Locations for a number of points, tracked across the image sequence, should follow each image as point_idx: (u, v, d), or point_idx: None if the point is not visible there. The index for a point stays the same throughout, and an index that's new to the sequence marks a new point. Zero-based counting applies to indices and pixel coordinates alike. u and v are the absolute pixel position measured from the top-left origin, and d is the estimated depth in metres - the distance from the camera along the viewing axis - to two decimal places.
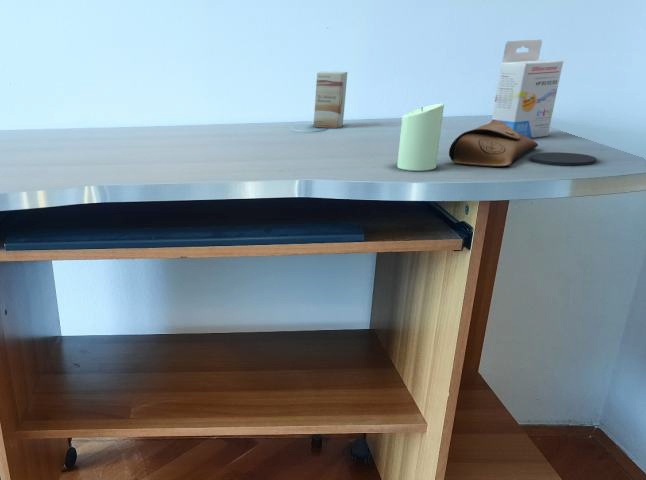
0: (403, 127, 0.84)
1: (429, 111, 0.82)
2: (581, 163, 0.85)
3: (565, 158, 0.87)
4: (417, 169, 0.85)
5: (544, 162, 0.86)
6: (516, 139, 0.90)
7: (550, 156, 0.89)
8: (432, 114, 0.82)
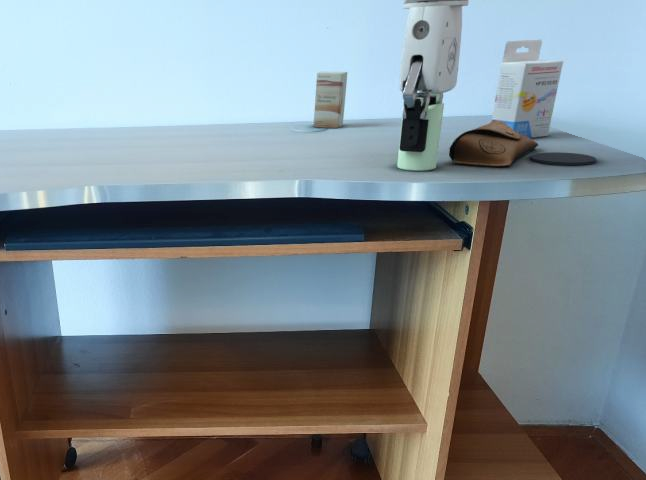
0: None
1: (429, 111, 0.82)
2: (581, 163, 0.85)
3: (565, 158, 0.87)
4: (417, 169, 0.85)
5: (544, 162, 0.86)
6: (516, 139, 0.90)
7: (550, 156, 0.89)
8: (432, 114, 0.82)
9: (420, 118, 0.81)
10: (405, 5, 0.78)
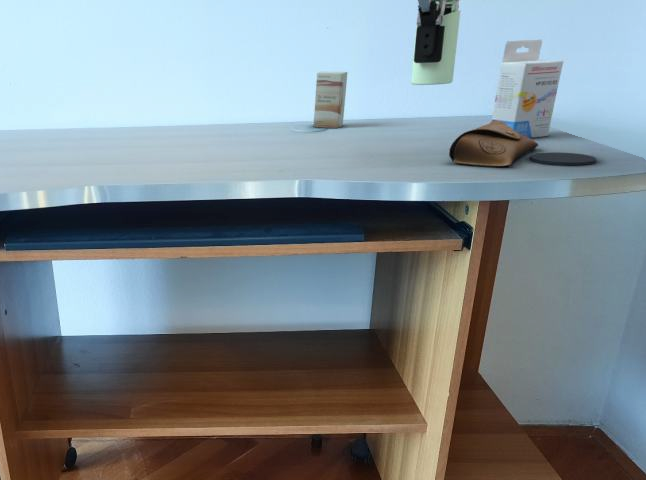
0: None
1: (445, 17, 0.77)
2: (581, 163, 0.85)
3: (565, 158, 0.87)
4: (433, 82, 0.80)
5: (544, 162, 0.86)
6: (516, 139, 0.90)
7: (550, 156, 0.89)
8: (448, 20, 0.77)
9: (436, 23, 0.76)
10: None
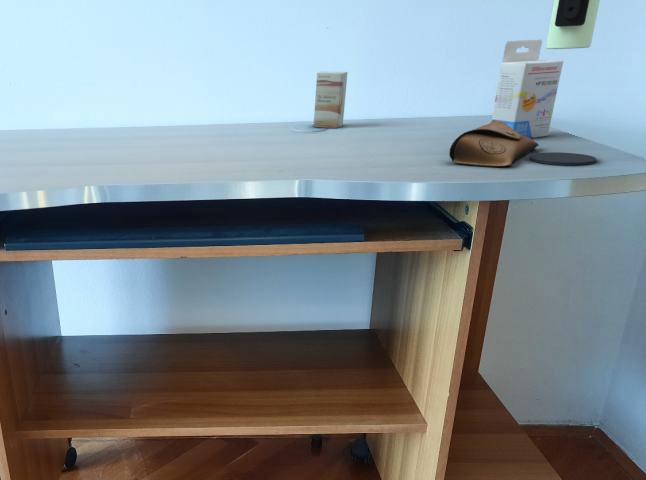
0: (558, 0, 0.79)
1: None
2: (581, 163, 0.85)
3: (565, 158, 0.87)
4: (573, 46, 0.80)
5: (544, 162, 0.86)
6: (516, 139, 0.90)
7: (550, 156, 0.89)
8: None
9: None
10: None
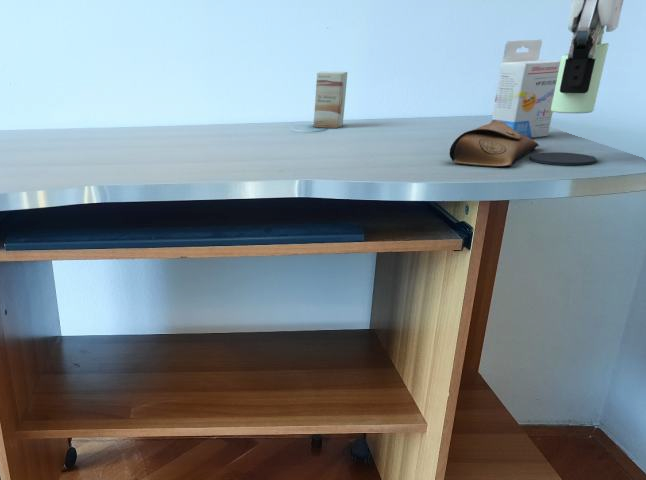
0: None
1: (595, 50, 0.80)
2: (581, 163, 0.85)
3: (565, 158, 0.87)
4: (576, 111, 0.83)
5: (544, 162, 0.86)
6: (516, 139, 0.90)
7: (550, 156, 0.89)
8: (598, 53, 0.80)
9: (588, 57, 0.79)
10: None
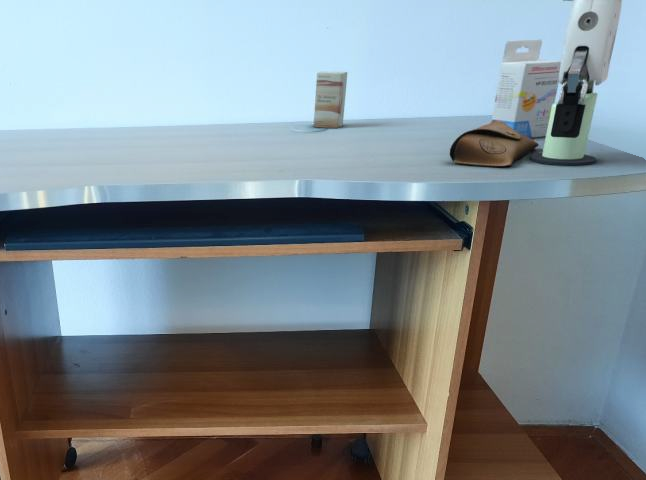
0: None
1: (585, 100, 0.83)
2: (581, 163, 0.85)
3: None
4: (567, 158, 0.86)
5: (544, 162, 0.86)
6: (517, 139, 0.90)
7: None
8: (587, 103, 0.83)
9: (578, 101, 0.80)
10: None
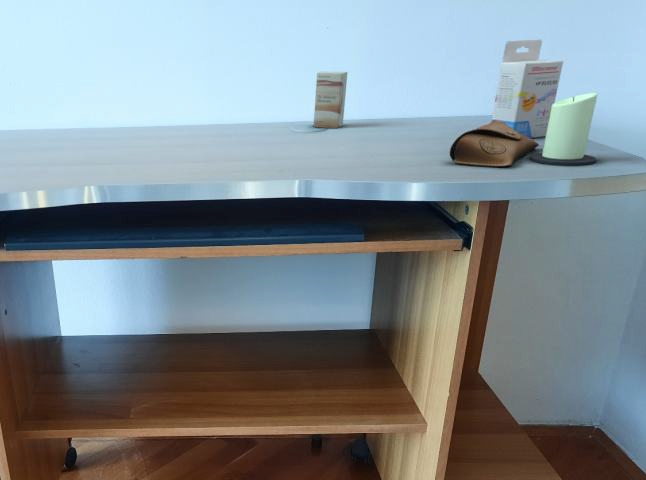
0: (554, 116, 0.85)
1: (585, 100, 0.83)
2: (581, 163, 0.85)
3: None
4: (567, 158, 0.86)
5: (544, 162, 0.86)
6: (517, 139, 0.90)
7: None
8: (587, 103, 0.83)
9: None
10: None
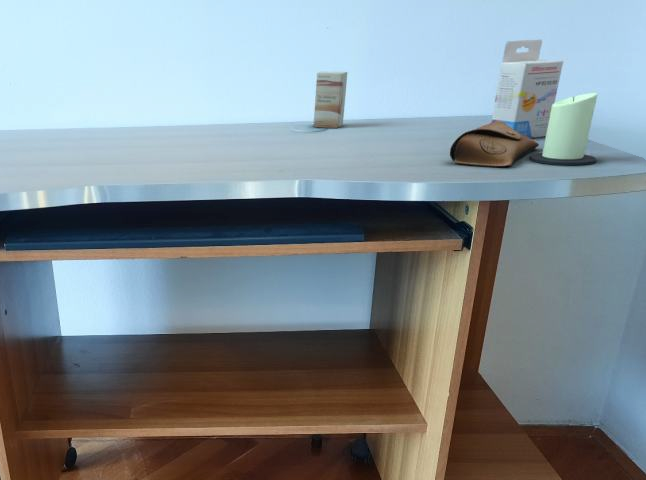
0: (554, 116, 0.85)
1: (585, 100, 0.83)
2: (581, 163, 0.85)
3: None
4: (567, 158, 0.86)
5: (544, 162, 0.86)
6: (517, 139, 0.90)
7: None
8: (587, 103, 0.83)
9: None
10: None
